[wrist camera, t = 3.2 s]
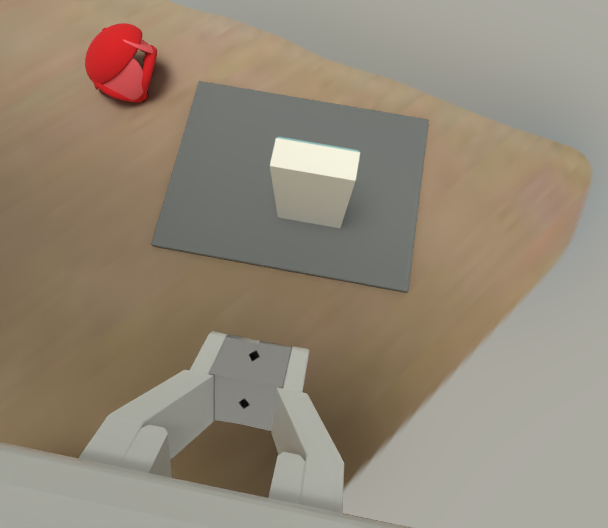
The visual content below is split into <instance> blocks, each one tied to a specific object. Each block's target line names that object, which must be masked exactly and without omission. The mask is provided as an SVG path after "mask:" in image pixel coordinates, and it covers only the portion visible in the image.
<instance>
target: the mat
mask: <svg viewBox="0 0 608 528" xmlns="http://www.w3.org/2000/svg"><path fill="white" fill-rule="evenodd" d="M428 122H429V120H428V119H422V118H416V117H410V116H404V115H398V114H392V113H386V112H380V111H375V110H369V109H363V108H357V107H351V106H345V105H339V104H333V103H327V102H321V101H315V100H309V99H303V98H297V97H291V96H285V95H279V94H273V93H267V92H261V91H255V90H249V89H244V88H238V87H232V86H226V85H220V84H214V83H208V82H202V81H199V83H198V86H197V90H196V93H195V97H194V100H193V103H192V107H191V110H190V114H189V117H188V121H187V124H186V127H185V131H184V134H183V138H182V141H181V144H180V148H179V151H178V155H177V158H176V162H175V165H174V168H173V172H172V175H171V179H170V182H169V185H168V189H167V192H166V196H165V199H164V202H163V206H162V209H161V213H160V216H159V220H158V223H157V226H156V230H155V233H154V237H153V240H152V243H151V245H152V246H154V247H160V248H165V249H171V250H176V251H182V252H187V253H193V254H198V255H204V256H209V257H215V258H220V259H226V260H231V261H236V262H242V263H247V264H253V265H258V266H264V267H269V268H275V269H280V270H286V271H291V272H297V273H302V274H307V275H313V276H318V277H324V278H329V279H335V280H340V281H346V282H351V283H357V284H362V285H368V286H373V287H378V288H384V289H389V290H395V291H400V292H408V287H409V279H410V271H411V262H412V254H413V246H414V238H415V229H416V221H417V213H418V204H419V196H420V188H421V180H422V171H423V163H424V155H425V146H426V138H427V130H428ZM278 136H279V137H285V138H290V139H296V140H302V141H308V142H314V143H320V144H325V145H331V146H337V147H343V148H349V149H355V150H359V152H360V157H359V163H358V169H357V175H356V181H355V184H354V187H353V190H352V194H351V197H350V200H349V203H348V206H347V209H346V212H345V215H344V218H343V222H342V225H341V228H335V227H329V226H323V225H318V224H312V223H307V222H301V221H295V220H290V219H284V218H279V217H278V215H277V209H276V203H275V196H274V190H273V184H272V177H271V171H270V162H271V158H272V153H273V149H274V145H275V140H276V138H278Z"/></svg>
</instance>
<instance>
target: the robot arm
mask: <svg viewBox="0 0 608 528" xmlns="http://www.w3.org/2000/svg"><path fill="white" fill-rule="evenodd" d="M308 356H309V349H304V348H299V347H292V346H287V345H281V344H275V343H270V342H264V341H258V340H253V339H249V338H244V337H239V336H234V335H230V334H223V333H219V332H214V331H212V332H210V333H209V334H208V336H207V338H206V340H205V342H204V344H203V346H202V348H201V349H200V351H199V353H198V355H197V357H196V359H195V361H194V363H193V365H192V366H191V368H190V370H183V371H181V372H180V373H178V374H176V375H175V376H173V377H171V378H170V379H168V380H166V381H164V382H163V383H161V384H159V385H158V386H156V387H154V388H153V389H151V390H149V391H148V392H146V393H144V394H143V395H141V396H139V397H137V398H136V399H134V400H132V401H131V402H129V403H127V404H126V405H124V406H122V407H121V408H119V409H117V410H115V411H114V412H112V413H110V414H109V415H108V416H107V417H106V419H105V420H104V422H103V423H102V425H101V426H100V428H99V429H98V431H97V432H96V433H95V435H94V436H93V438H92V439H91V441H90V442H89V444H88V445H87V447H86V448H85V449H84V451H83V452H82V454H81V455H80V457H79V458H75V457H70V456H65V455H60V454H55V453H51V452H46V451H41V450H36V449H31V448H27V447H22V446H17V445H12V444H8V443H3V442H0V528H411V527H406V526H401V525H396V524H392V523H386V522H382V521H377V520H372V519H368V518H363V517H358V516H353V515H348V514H344V513H342V505H343V503H342V502H343V481H344V462H343V460H342V458H341V456H340V454H339V452H338V450H337V448H336V446H335V445H334V443H333V441H332V439H331V437H330V435H329V433H328V431H327V430H326V428H325V426H324V424H323V422H322V420H321V418H320V416H319V415H318V413H317V411H316V409H315V407H314V405H313V403H312V401H311V399H310V398H309V396H308V394H307V393H303V386H304V380H305V374H306V368H307V362H308ZM214 420H218V421H224V422H230V423H236V424H242V425H246V426H251V427H255V428H260V429H264V430H268V431H271V433H272V436H273V440H274V443H275V446H276V449H277V452H278V457H277V461H276V466H275V470H274V475H273V479H272V484H271V488H270V493H269V497H268V498H267V497H262V496H257V495H252V494H247V493H242V492H238V491H233V490H228V489H223V488H218V487H214V486H209V485H204V484H199V483H194V482H190V481H185V480H180V479H175V478H172V472H171V461H170V460H171V459H172V458H173V457H174V456H175V455H177V454H178V453H179V452H180V451H181V450H182V449H183V448H184V447H186V446H187V445H188V444H189V443H190V442H191V441H192V440H193V439H195V438H196V437H197V436H198V435H199V434H200V433H201V432H202V431H204V430H205V429H206V428H207V427H208V426H209V425H210V424H211V423H213V422H214Z"/></svg>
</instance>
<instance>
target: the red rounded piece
mask: <svg viewBox="0 0 608 528" xmlns="http://www.w3.org/2000/svg"><path fill="white" fill-rule="evenodd" d="M138 49H139V50H141V51H142V52H144V53H145V56H144V59H143V62H144V66H143V70H142V68H141V66H140V64H139V63H138V62H137V61H136V60H135V59H134V58H133V57H134V55H135V54H136V52H137V50H138ZM156 56H157V49H156V48H155V47H154V46H152V45H149V44H148V43H146V42H145V41H144V40H142V31H141V30H140V29H139V28H137V27H136V26H134V25H131V24H116V25H113V26H110V27H108V28H104V29H102V32H100V33H99V34H98V35H97V36H96V37H95V39H94V40H93V41H92V43H91V44H90V46H89V48H88V51H87V54H86V59H85V67H86V72H87V74H88V76H89V78H90V79H91V80H92V82H94V85H95V88H96V89H98V88H99V89H100V90H101V91H102V92H104V93H105V94H107V95H108V96H110V97H113V98H115V99H119V100H123V101H129V102H138V103H140V102H142V101H143V100H146V99H147V98H148V94H147V90H148V87H149V84H150V80H151V77H152V73H153V69H154V65H155V61H156Z"/></svg>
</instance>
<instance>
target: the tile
mask: <svg viewBox="0 0 608 528" xmlns="http://www.w3.org/2000/svg"><path fill="white" fill-rule="evenodd" d="M359 157H360V152H359V150H355V149H349V148H343V147H337V146H331V145H325V144H320V143H314V142H308V141H302V140H296V139H290V138H285V137H279V136H278V138H276V140H275V145H274V149H273V153H272V158H271V162H270V171H271V177H272V184H273V190H274V196H275V203H276V209H277V215H278V217H279V218H284V219H290V220H295V221H301V222H307V223H312V224H318V225H323V226H329V227H335V228H341V225H342V222H343V218H344V215H345V212H346V209H347V206H348V203H349V200H350V197H351V194H352V190H353V187H354V184H355V181H356V175H357V169H358V163H359Z"/></svg>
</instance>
